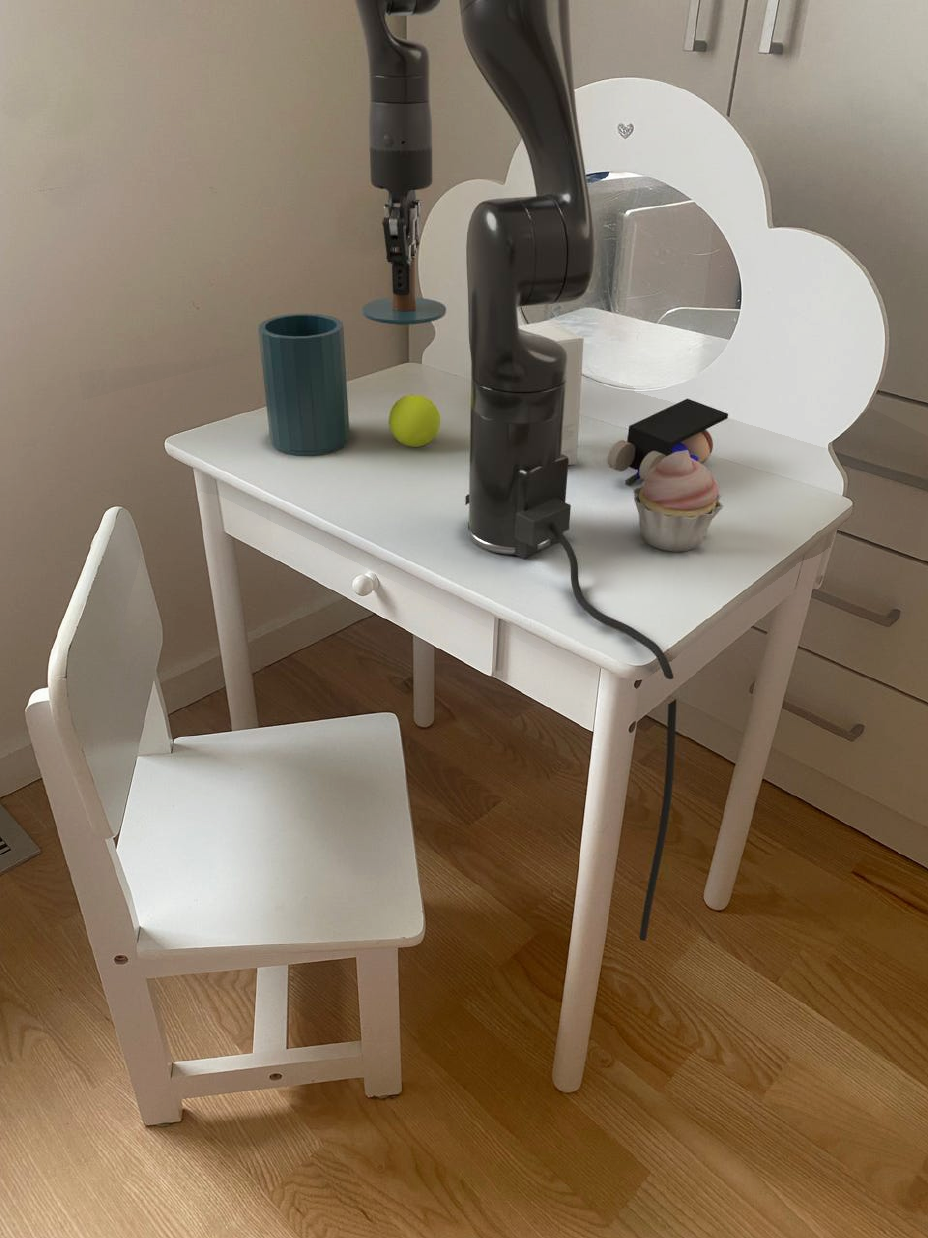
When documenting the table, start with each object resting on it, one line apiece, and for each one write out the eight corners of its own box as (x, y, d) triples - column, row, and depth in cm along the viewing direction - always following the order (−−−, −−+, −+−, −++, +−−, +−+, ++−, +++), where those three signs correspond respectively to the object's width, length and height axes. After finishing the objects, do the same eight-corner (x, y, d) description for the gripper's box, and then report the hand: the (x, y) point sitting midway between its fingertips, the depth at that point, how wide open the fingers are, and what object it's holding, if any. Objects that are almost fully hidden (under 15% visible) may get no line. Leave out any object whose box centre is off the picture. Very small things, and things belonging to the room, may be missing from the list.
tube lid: (463, 317, 126) (464, 261, 122) (399, 334, 120) (397, 275, 116) (408, 300, 133) (407, 246, 129) (345, 315, 126) (342, 259, 122)
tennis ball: (450, 445, 122) (450, 396, 118) (412, 459, 118) (411, 409, 114) (417, 430, 125) (416, 383, 122) (379, 443, 122) (377, 395, 118)
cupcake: (730, 557, 98) (747, 467, 93) (642, 562, 97) (654, 472, 92) (699, 515, 106) (713, 430, 100) (617, 520, 105) (626, 434, 99)
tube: (365, 441, 122) (360, 326, 114) (300, 462, 117) (290, 343, 108) (319, 419, 128) (310, 308, 120) (255, 438, 123) (242, 324, 114)
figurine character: (649, 514, 109) (725, 463, 117) (653, 455, 105) (731, 406, 112) (603, 495, 113) (679, 447, 121) (604, 437, 109) (683, 391, 116)
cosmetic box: (577, 465, 117) (588, 338, 108) (528, 473, 115) (535, 344, 106) (547, 440, 123) (555, 318, 115) (500, 447, 121) (504, 323, 113)
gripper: (423, 152, 109) (424, 307, 118) (440, 136, 120) (440, 278, 130) (357, 150, 109) (364, 304, 119) (381, 134, 121) (385, 275, 130)
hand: (404, 289), depth 124 cm, fingers closed on tube lid, 3 cm apart
